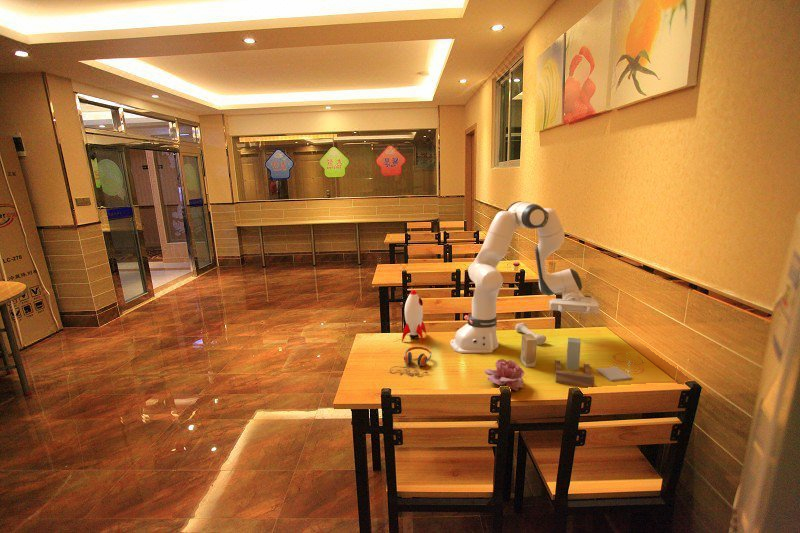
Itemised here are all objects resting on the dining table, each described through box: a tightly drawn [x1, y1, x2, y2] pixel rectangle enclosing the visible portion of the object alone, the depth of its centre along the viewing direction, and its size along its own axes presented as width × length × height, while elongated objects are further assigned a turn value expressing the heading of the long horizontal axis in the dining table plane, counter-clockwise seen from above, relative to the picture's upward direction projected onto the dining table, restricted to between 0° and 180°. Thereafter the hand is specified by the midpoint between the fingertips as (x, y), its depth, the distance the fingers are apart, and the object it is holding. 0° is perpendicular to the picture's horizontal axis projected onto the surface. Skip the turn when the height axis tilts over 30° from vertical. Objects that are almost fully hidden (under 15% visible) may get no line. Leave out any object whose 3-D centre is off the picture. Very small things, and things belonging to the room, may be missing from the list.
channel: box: [554, 359, 595, 388], centre depth 160 cm, size 18×13×4 cm
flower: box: [484, 358, 526, 392], centre depth 152 cm, size 15×15×10 cm
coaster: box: [595, 366, 633, 382], centre depth 159 cm, size 9×9×1 cm
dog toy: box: [514, 322, 547, 346], centre depth 197 cm, size 20×6×5 cm, turn 15°
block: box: [565, 337, 582, 372], centre depth 165 cm, size 4×4×12 cm
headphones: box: [389, 345, 433, 378], centre depth 171 cm, size 17×5×20 cm
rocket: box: [401, 289, 427, 343], centre depth 198 cm, size 11×11×25 cm
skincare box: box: [520, 333, 538, 368], centre depth 169 cm, size 6×4×12 cm
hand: (574, 311), depth 173 cm, fingers open, 8 cm apart
